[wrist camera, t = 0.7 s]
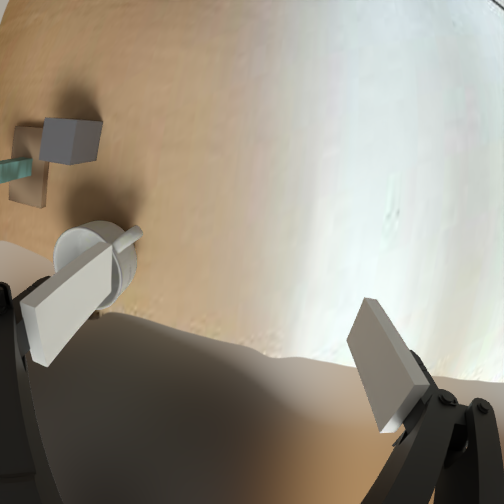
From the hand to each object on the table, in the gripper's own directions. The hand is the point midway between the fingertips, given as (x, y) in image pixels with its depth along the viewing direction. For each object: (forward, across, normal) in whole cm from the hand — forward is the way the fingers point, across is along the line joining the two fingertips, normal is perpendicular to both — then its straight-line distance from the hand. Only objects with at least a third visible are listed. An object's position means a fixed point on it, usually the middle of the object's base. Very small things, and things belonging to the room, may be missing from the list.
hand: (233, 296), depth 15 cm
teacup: (+25, -17, -10) cm, 32 cm away
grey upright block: (+24, -24, +5) cm, 35 cm away
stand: (+24, -34, 0) cm, 42 cm away
